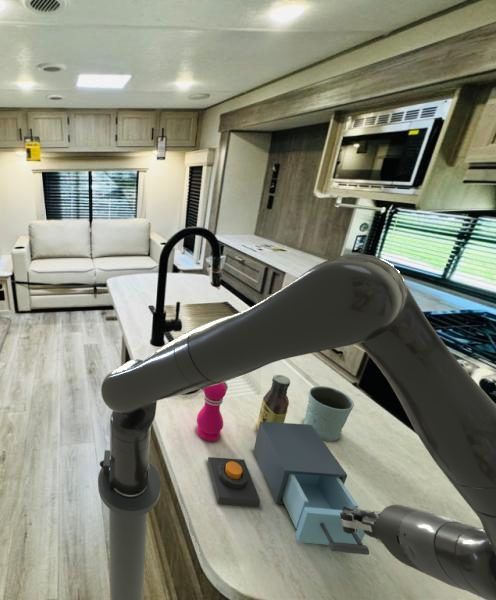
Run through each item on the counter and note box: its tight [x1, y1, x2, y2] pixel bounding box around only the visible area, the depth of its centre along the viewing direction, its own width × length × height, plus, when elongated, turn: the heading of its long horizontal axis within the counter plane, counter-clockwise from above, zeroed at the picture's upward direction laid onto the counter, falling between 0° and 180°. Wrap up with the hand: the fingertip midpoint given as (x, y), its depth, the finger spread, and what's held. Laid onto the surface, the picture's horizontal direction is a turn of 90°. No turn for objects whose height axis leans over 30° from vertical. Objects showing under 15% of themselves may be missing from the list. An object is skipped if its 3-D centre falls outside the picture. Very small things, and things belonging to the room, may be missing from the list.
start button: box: [225, 461, 242, 480], centre depth 75 cm, size 4×4×2 cm
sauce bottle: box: [256, 374, 291, 433], centre depth 87 cm, size 7×6×20 cm
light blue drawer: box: [282, 473, 370, 556], centre depth 65 cm, size 18×11×9 cm, turn 174°
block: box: [206, 456, 261, 508], centre depth 76 cm, size 9×11×4 cm
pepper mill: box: [196, 382, 227, 442], centre depth 88 cm, size 7×7×20 cm
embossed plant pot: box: [303, 385, 355, 442], centre depth 89 cm, size 10×10×12 cm
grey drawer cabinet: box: [252, 422, 348, 505], centre depth 75 cm, size 15×13×11 cm
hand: (348, 513), depth 57 cm, fingers closed
